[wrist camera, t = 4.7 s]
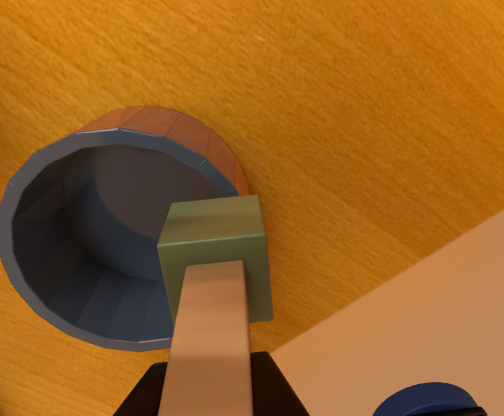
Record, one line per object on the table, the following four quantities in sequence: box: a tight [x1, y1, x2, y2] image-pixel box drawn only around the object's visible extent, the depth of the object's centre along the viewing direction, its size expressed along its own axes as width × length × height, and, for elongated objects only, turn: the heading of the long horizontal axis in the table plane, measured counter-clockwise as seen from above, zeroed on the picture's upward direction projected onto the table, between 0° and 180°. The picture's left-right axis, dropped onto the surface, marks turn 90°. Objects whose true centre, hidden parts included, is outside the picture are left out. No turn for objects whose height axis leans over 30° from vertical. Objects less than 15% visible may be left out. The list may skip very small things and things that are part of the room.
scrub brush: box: [157, 195, 273, 416], centre depth 9 cm, size 3×3×10 cm
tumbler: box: [0, 106, 249, 352], centre depth 18 cm, size 10×10×6 cm
